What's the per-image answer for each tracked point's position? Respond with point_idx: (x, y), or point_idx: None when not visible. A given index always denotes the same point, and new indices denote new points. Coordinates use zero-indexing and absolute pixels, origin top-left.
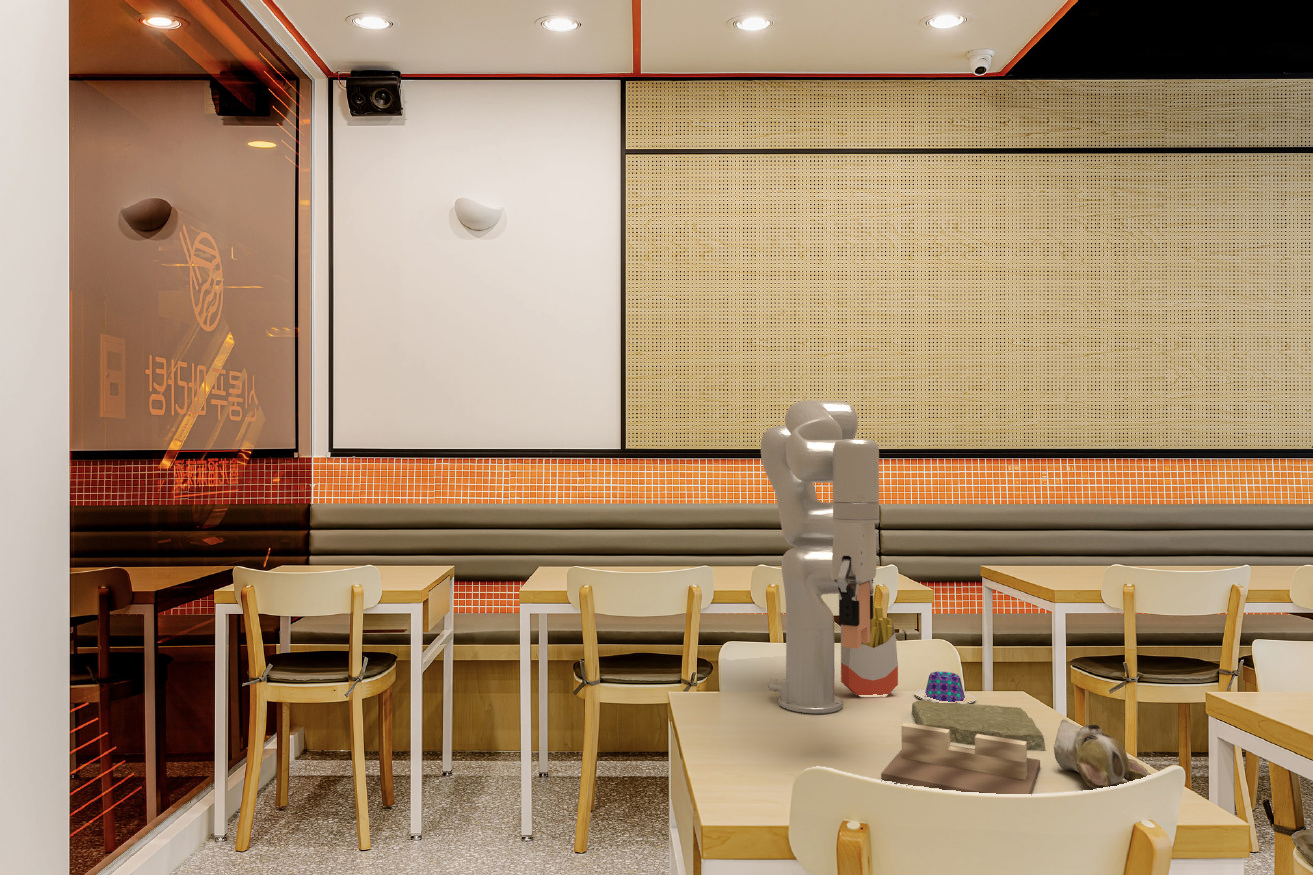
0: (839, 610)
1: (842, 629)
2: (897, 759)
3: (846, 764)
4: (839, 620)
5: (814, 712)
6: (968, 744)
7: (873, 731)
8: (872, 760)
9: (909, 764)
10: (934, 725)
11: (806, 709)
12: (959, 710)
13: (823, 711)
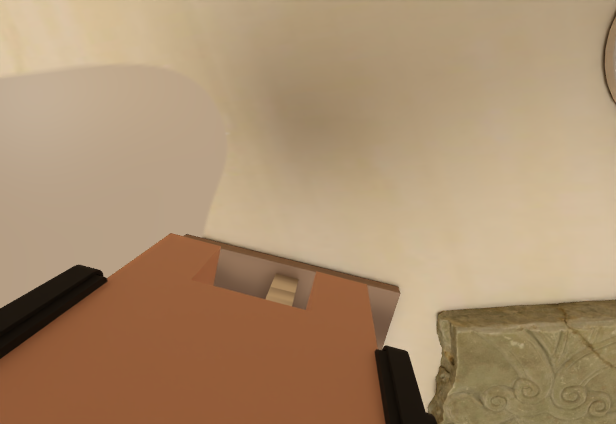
0: (6, 307)
1: (125, 265)
2: (263, 266)
3: (249, 172)
4: (65, 272)
5: (605, 66)
6: (436, 381)
7: (480, 216)
8: (288, 218)
9: (244, 284)
10: (455, 346)
11: (612, 42)
12: (575, 404)
13: (612, 90)
